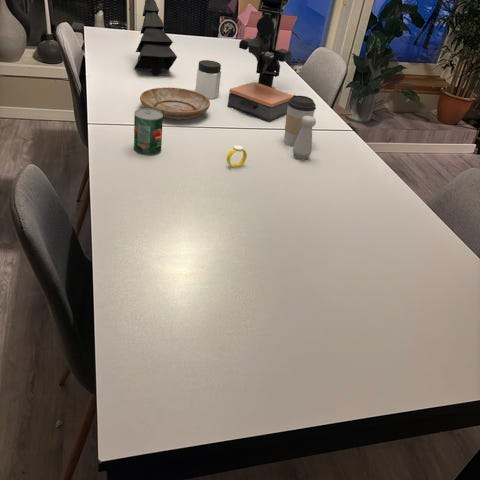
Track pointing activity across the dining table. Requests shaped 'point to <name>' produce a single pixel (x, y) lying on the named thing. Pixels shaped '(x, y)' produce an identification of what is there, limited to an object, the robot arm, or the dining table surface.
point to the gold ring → (235, 148)
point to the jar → (208, 78)
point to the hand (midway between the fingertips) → (261, 74)
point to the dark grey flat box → (257, 108)
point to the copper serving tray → (261, 94)
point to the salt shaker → (304, 138)
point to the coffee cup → (297, 116)
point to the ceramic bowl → (175, 102)
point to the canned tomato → (148, 132)
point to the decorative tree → (154, 42)
